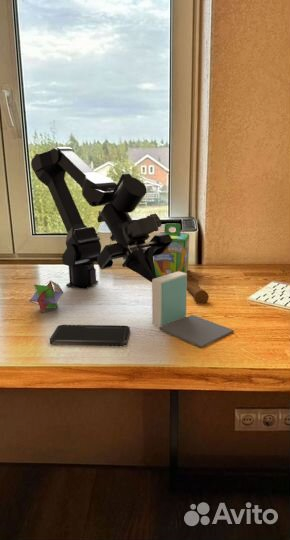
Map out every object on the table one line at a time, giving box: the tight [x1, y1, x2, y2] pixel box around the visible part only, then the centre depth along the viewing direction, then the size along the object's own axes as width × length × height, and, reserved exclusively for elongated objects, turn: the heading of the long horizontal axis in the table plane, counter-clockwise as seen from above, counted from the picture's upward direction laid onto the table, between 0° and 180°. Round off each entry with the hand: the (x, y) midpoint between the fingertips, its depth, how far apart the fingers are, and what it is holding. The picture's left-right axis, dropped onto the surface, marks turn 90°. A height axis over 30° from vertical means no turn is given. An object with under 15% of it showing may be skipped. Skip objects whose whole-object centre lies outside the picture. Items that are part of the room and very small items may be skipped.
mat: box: [159, 314, 235, 349], centre depth 83 cm, size 11×10×1 cm
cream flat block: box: [151, 271, 188, 328], centre depth 87 cm, size 3×8×10 cm, turn 133°
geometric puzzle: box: [29, 280, 64, 314], centre depth 94 cm, size 7×7×8 cm
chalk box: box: [153, 222, 190, 277], centre depth 119 cm, size 9×9×15 cm
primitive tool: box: [187, 277, 210, 304], centre depth 107 cm, size 19×6×4 cm, turn 8°
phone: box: [49, 324, 131, 347], centre depth 81 cm, size 8×1×15 cm
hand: (154, 281), depth 90 cm, fingers closed
